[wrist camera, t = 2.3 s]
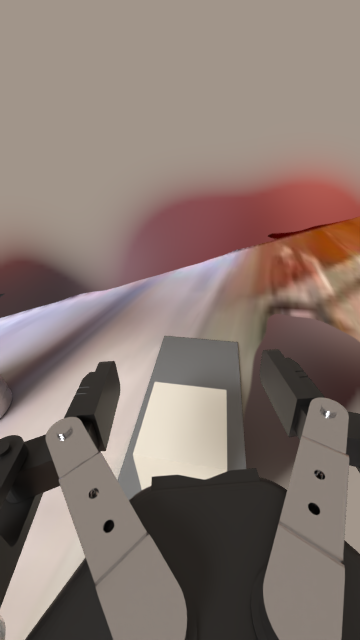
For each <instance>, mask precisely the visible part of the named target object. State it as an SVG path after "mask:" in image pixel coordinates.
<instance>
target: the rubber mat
mask: <svg viewBox="0 0 360 640" xmlns="http://www.w3.org/2000/svg"><path fill="white" fill-rule="evenodd" d="M155 382H161V383H170V384H179V385H188V386H196V387H205V388H214V389H223V390H226V393H227V471H230V470H239V469H246V457H245V443H244V429H243V415H242V400H241V386H240V372H239V358H238V344H237V342H230V341H219V340H207V339H196V338H185V337H173V336H164V339H163V342H162V345H161V348H160V351H159V354H158V357H157V360H156V364H155V367H154V370H153V373H152V376H151V379H150V382H149V385H148V388H147V391H146V394H145V397H144V401H143V404H142V407H141V410H140V413H139V416H138V419H137V422H136V425H135V428H134V431H133V434H132V437H131V441H130V444H129V447H128V450H127V453H126V456H125V459H124V462H123V465H122V468H121V471H120V474H119V477H118V483H119V484H120V486H121V488H122V490H123V491H124V493H125V495H126V497H127V498H128V500H130V499H131V498H132V497H133V496H134V495H135V494H137V493H138V492H140V491H141V490H142V489H141V485H140V481H139V477H138V473H137V469H136V465H135V462H134V458H133V452H134V449H135V445H136V442H137V439H138V436H139V432H140V429H141V426H142V422H143V419H144V416H145V412H146V409H147V406H148V402H149V399H150V396H151V393H152V389H153V386H154V383H155Z"/></svg>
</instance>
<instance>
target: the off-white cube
mask: <svg viewBox="0 0 360 640" xmlns="http://www.w3.org/2000/svg"><path fill="white" fill-rule="evenodd" d="M133 458H134V462H135V465H136V469H137V473H138V477H139V481H140V485H141V489H142V490H143V489H145V488H147V487H149V486H151V482H152V477H154V476H166V475H182V476H187V477H193V478H198V479H209V478H211V477H214V476H217V475H219V474H222V473H225V472H227V393H226V390H223V389H214V388H205V387H196V386H188V385H179V384H170V383H161V382H155V383H154V386H153V389H152V393H151V396H150V399H149V402H148V406H147V409H146V412H145V416H144V419H143V422H142V426H141V429H140V432H139V436H138V439H137V442H136V445H135V449H134V452H133Z"/></svg>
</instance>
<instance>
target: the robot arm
mask: <svg viewBox="0 0 360 640" xmlns="http://www.w3.org/2000/svg"><path fill="white" fill-rule="evenodd" d="M260 380H261V383H262V385H263V388H264V390H265V391H266V393H267V395H268V397H269V399H270V401H271V403H272V405H273V407H274V409H275V411H276V413H277V415H278V417H279V419H280V421H281V423H282V425H283V427H284V429H285V431H286V432H287V435H288V436H289V437H294V436H298V438H299V439H300V444H299V448H298V452H297V455H296V459H295V463H294V467H293V471H292V475H291V478H290V483H289V486H288V490H286V489H285V488H283V487H282V486H280V485H278V484H276V483H275V482H272V481H270V480H267V479H264V478H260V477H259V476H258V473H257V470H256V468H252V469H239V470H230V471H227V472H225V473H222V474H219V475H217V476H214V477H211V478H209V479H198V478H193V477H187V476H182V475H166V476H154V477H152V482H151V486H149V487H147V488H145V489H143V490H141V491H140V492H138V493H137V494H135V495H134V496H133V497H132V498H131V499H130V500H128V498H127V497H126V495H125V493H124V491H123V490H122V488H121V486H120V484H119V483H118V481H117V479H116V477H115V476H114V474H113V472H112V470H111V469H110V467H109V465H108V463H107V462H106V460H105V458H104V456H103V455H102V453H101V452H100V451H106V448H107V444H108V440H109V436H110V432H111V428H112V424H113V420H114V416H115V412H116V408H117V404H118V400H119V396H120V382H119V377H118V373H117V369H116V364H115V362H114V361H108V362H99V364H98V366H97V368H96V371H95V372H90V373H89V374H87V375H86V376H85V377H84V378H83V379H82V382H81V384H80V386H79V388H78V390H77V392H76V395H75V396H74V398H73V400H72V402H71V405H70V407H69V409H68V411H67V413H66V415H65V417H64V419H61V420H59V421H58V422H56V423H55V424H54V425H53V426H51V428H50V429H49V430H48V432H47V434H46V435H43V436H40V437H37V438H35V439H32V440H29V441H26V442H24V441H23V439H22V438H21V437H20V436H17V435H11V436H7V437H4V438H2V439H0V607H1V605H2V602H3V599H4V597H5V594H6V591H7V589H8V586H9V583H10V581H11V578H12V575H13V573H14V570H15V567H16V564H17V562H18V559H19V556H20V554H21V551H22V548H23V546H24V543H25V540H26V538H27V535H28V532H29V530H30V527H31V524H32V522H33V519H34V516H35V514H36V511H37V508H38V506H39V503H40V500H41V497H42V495H43V492H46V491H48V490H51V489H53V488H55V487H58V486H61V489H62V492H63V494H64V497H65V500H66V503H67V506H68V509H69V512H70V514H71V517H72V520H73V523H74V526H75V529H76V531H77V534H78V537H79V540H80V543H81V546H82V548H83V551H84V554H85V559H84V560H83V562H82V563H81V564H80V566H79V567H78V568H77V570H76V571H75V572H74V574H73V575H72V576H71V578H70V579H69V581H68V582H67V583H66V585H65V586H64V587H63V589H62V590H61V591H60V593H59V594H58V596H57V597H56V598H55V600H54V601H53V602H52V604H51V605H50V606H49V608H48V609H47V610H46V612H45V613H44V615H43V616H42V617H41V619H40V620H39V621H38V623H37V624H36V625H35V627H34V628H33V629H32V631H31V632H30V634H29V635H28V636H27V638H26V639H25V640H360V554H359V553H358V552H357V551H356V550H355V549H354V548H353V547H351V546H350V545H349V544H348V543H347V542H346V541H345V540H344V535H345V520H346V504H347V487H348V473H349V472H348V471H349V465H351V466H355V467H356V468H357V469H358V471H359V472H360V414H358V413H352V412H348V411H346V409H345V408H344V407H343V406H342V405H341V404H339V403H338V402H336V401H334V400H331V399H328V398H325V397H324V396H323V394H322V393H321V392H320V391H319V390H318V388H317V387H316V386H315V384H314V383H313V382H312V381H311V379H310V378H308V376H307V375H306V373H305V372H304V371H303V369H302V368H301V367H300V365H299V364H298V363H296V362H295V361H293V360H292V359H290V358H285V357H284V356H283V355H282V353H281V352H280V351H279V350H278V349H274V350H263V352H262V359H261V367H260ZM11 401H12V392H11V390H10V388H9V387H8V385H7V384H6V382H5V381H4V379H3V378H2V376H1V375H0V418H1V417H2V416H3V415H4V413H5V412H6V411H7V409H8V408H9V406H10V404H11ZM98 451H99V452H98ZM0 640H5V622H4V620H3V618H2V617H1V616H0Z"/></svg>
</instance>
